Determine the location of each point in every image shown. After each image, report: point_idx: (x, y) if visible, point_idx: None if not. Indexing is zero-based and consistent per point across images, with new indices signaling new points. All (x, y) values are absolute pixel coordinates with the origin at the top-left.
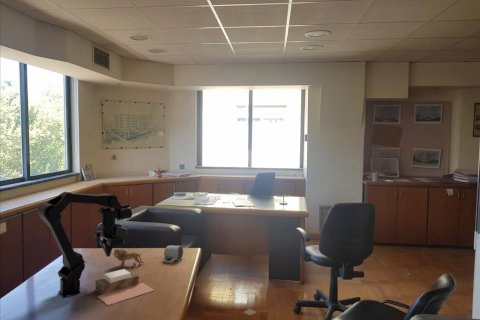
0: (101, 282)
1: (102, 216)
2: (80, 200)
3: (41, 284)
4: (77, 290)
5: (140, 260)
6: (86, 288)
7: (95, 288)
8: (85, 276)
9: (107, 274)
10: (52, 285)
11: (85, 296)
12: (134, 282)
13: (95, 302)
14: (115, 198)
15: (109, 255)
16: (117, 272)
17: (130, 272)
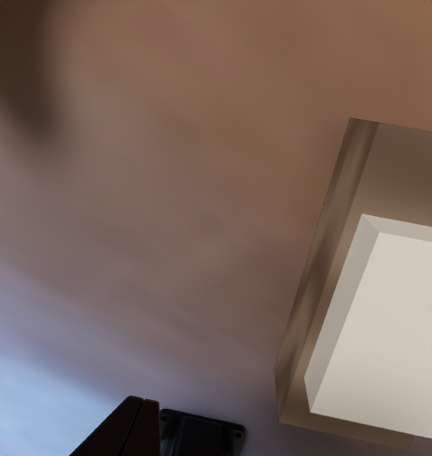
0: (350, 423)
1: None
2: None
3: (4, 449)
4: (222, 435)
5: None
6: (213, 380)
7: (275, 374)
8: (28, 288)
9: (344, 405)
10: (48, 435)
11: (306, 433)
12: None
13: (418, 447)
14: None
15: (159, 420)
16: (391, 333)
17: (404, 154)
